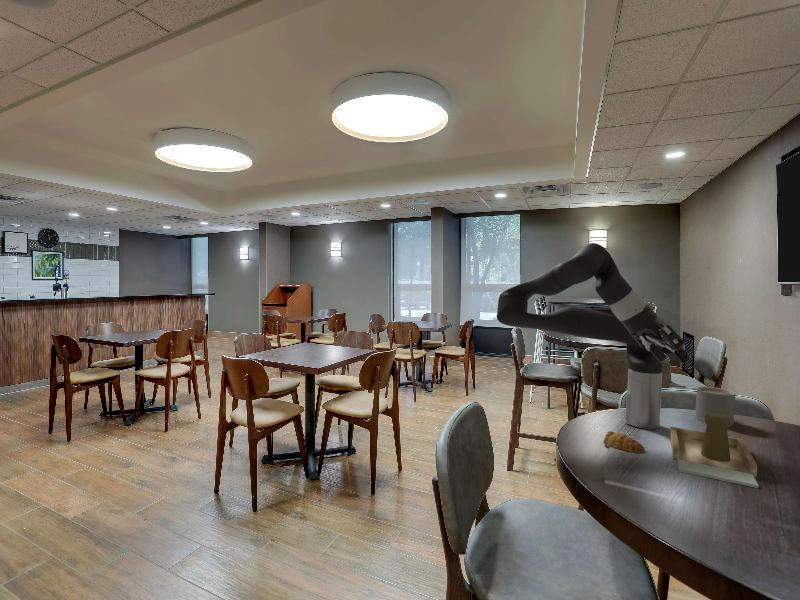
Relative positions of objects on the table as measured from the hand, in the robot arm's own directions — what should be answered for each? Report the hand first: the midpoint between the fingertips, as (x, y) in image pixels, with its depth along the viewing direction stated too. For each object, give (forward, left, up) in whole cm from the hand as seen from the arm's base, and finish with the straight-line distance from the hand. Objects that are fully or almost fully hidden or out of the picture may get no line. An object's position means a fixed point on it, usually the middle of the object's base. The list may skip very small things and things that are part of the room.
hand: (674, 360), depth 103 cm
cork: (+10, +5, -25) cm, 27 cm away
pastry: (-11, +2, -26) cm, 28 cm away
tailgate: (+9, -2, -25) cm, 26 cm away
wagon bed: (+9, +8, -26) cm, 28 cm away
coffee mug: (+14, +45, -26) cm, 53 cm away
